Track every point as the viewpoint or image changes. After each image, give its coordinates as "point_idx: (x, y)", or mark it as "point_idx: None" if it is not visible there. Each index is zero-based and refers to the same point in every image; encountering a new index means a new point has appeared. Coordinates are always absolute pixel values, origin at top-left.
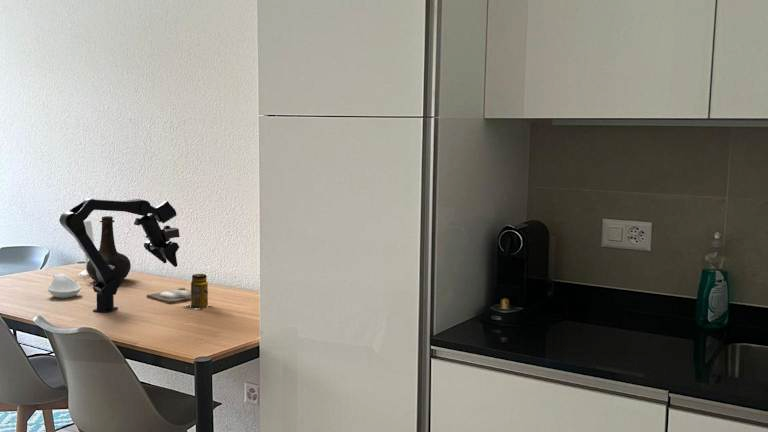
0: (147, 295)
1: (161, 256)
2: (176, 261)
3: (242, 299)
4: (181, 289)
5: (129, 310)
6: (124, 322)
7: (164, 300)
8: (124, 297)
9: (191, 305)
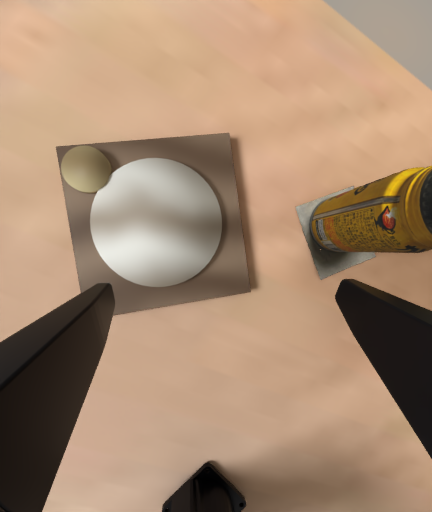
0: None
1: (65, 380)
2: (407, 305)
3: (331, 53)
4: (104, 171)
5: (251, 433)
6: (376, 486)
7: (215, 297)
8: None
9: (313, 242)
